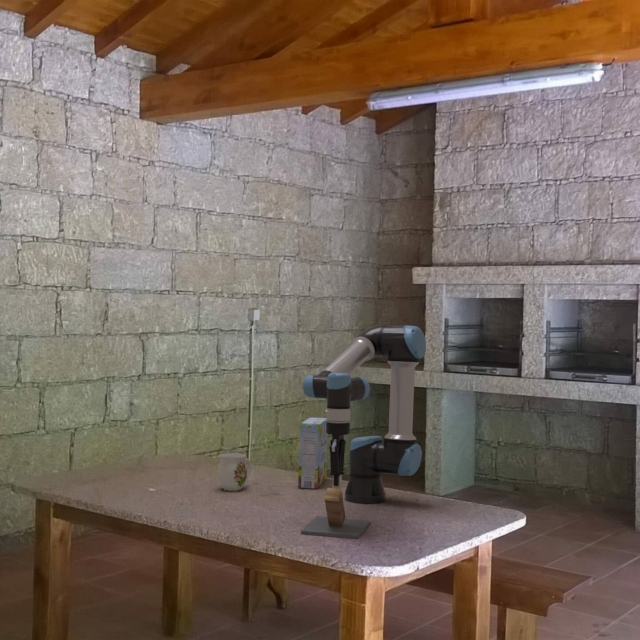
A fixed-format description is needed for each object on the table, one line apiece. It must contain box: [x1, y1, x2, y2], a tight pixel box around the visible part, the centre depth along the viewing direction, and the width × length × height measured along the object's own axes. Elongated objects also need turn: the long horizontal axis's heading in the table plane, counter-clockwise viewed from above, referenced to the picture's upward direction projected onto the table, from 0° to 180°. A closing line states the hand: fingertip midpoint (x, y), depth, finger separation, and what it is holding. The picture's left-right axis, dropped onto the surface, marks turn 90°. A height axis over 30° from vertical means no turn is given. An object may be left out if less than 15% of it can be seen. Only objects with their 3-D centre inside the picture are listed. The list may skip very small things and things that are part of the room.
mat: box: [300, 516, 371, 540], centre depth 276 cm, size 20×18×1 cm
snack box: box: [297, 417, 329, 490], centre depth 347 cm, size 22×9×26 cm, turn 171°
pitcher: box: [217, 452, 252, 492], centre depth 335 cm, size 11×18×14 cm, turn 143°
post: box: [324, 487, 346, 527], centre depth 273 cm, size 4×4×12 cm
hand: (336, 495), depth 275 cm, fingers closed
